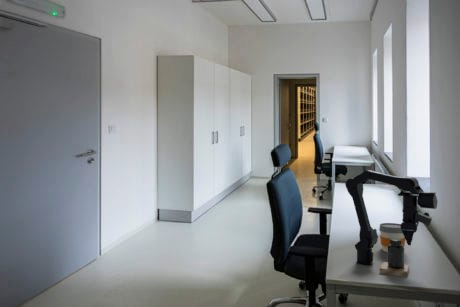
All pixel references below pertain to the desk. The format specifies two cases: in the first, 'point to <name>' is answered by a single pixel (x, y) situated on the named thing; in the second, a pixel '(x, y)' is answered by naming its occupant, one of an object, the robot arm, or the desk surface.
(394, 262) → the supplement bottle
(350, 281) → the desk surface
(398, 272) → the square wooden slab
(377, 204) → the desk surface
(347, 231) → the desk surface
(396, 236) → the reusable coffee cup
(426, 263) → the desk surface
